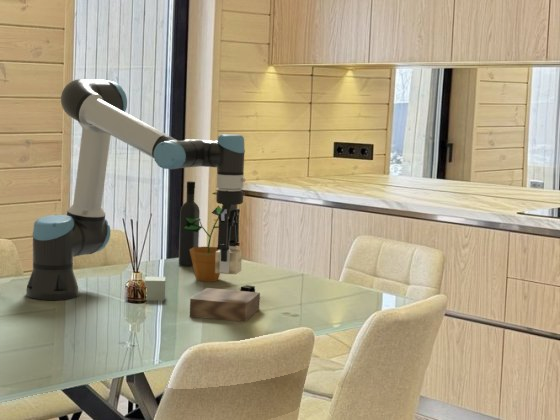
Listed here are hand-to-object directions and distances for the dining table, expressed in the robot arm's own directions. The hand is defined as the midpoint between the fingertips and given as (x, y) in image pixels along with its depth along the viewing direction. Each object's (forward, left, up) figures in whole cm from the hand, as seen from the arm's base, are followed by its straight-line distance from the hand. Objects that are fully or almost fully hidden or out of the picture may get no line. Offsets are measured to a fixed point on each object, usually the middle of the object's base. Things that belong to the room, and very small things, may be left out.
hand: (227, 270), depth 273 cm
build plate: (+1, +20, -13) cm, 24 cm away
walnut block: (0, 0, -12) cm, 12 cm away
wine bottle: (-33, +66, -13) cm, 75 cm away
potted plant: (-19, +44, -13) cm, 50 cm away
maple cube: (0, 0, 0) cm, 0 cm away
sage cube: (-25, +10, -12) cm, 30 cm away
